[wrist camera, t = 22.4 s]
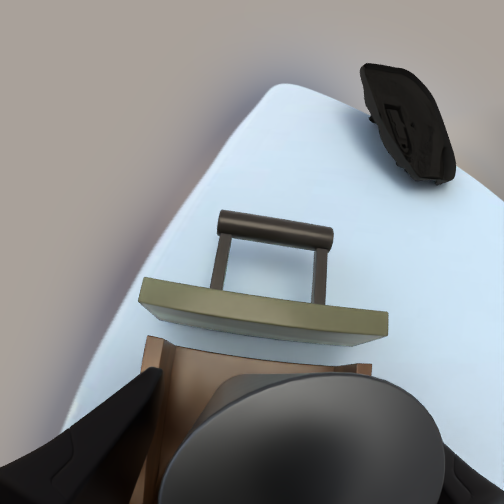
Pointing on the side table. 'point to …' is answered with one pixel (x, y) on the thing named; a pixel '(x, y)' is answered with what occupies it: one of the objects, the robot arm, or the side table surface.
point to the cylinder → (308, 444)
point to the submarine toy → (408, 122)
